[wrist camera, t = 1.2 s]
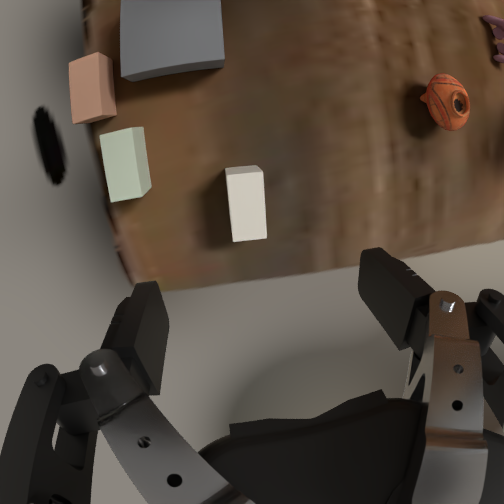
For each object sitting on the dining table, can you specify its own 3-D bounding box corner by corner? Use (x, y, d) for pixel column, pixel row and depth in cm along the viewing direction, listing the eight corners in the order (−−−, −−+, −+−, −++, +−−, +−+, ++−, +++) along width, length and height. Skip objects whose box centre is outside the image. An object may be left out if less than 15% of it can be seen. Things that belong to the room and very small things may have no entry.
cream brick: (225, 168, 30) (226, 175, 26) (256, 165, 30) (262, 171, 26) (230, 226, 33) (233, 242, 29) (260, 223, 33) (266, 238, 29)
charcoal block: (131, 9, 20) (121, -3, 16) (218, -6, 20) (219, -21, 17) (132, 82, 24) (121, 76, 20) (223, 67, 25) (224, 59, 21)
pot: (460, 115, 29) (487, 126, 23) (423, 131, 31) (447, 143, 26) (443, 66, 25) (470, 69, 19) (403, 80, 28) (427, 83, 22)
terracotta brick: (86, 68, 22) (68, 62, 18) (113, 59, 22) (98, 51, 18) (90, 123, 25) (72, 124, 21) (117, 115, 25) (102, 114, 21)
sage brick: (114, 133, 26) (99, 135, 22) (143, 126, 27) (131, 127, 23) (123, 191, 29) (111, 202, 25) (151, 186, 30) (142, 196, 26)
